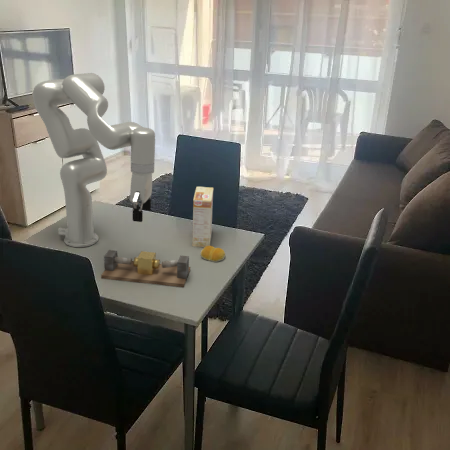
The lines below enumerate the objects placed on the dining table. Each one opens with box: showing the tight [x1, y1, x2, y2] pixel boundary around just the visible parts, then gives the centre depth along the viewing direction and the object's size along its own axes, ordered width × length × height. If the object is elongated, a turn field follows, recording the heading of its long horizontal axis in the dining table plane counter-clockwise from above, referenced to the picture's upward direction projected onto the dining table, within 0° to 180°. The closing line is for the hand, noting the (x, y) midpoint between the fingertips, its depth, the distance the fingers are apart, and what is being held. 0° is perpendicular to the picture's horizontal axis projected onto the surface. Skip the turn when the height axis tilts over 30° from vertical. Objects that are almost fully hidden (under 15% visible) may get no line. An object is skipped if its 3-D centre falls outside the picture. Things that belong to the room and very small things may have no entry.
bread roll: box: [199, 245, 226, 263], centre depth 184 cm, size 8×9×4 cm
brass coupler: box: [133, 250, 161, 275], centre depth 169 cm, size 8×5×6 cm, turn 83°
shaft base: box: [100, 249, 191, 288], centre depth 169 cm, size 28×12×7 cm, turn 83°
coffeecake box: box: [191, 186, 214, 248], centre depth 195 cm, size 15×7×20 cm, turn 178°
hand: (141, 215), depth 167 cm, fingers open, 9 cm apart
